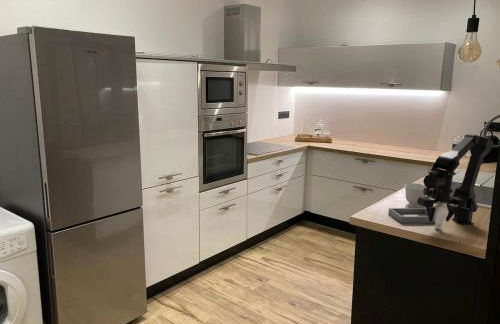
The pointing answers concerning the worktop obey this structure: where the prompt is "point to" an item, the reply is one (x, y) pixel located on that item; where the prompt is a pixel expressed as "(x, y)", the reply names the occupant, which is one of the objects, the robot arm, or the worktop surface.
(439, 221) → the lightbulb
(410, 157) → the worktop surface
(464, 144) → the robot arm
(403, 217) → the tray
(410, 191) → the teacup
